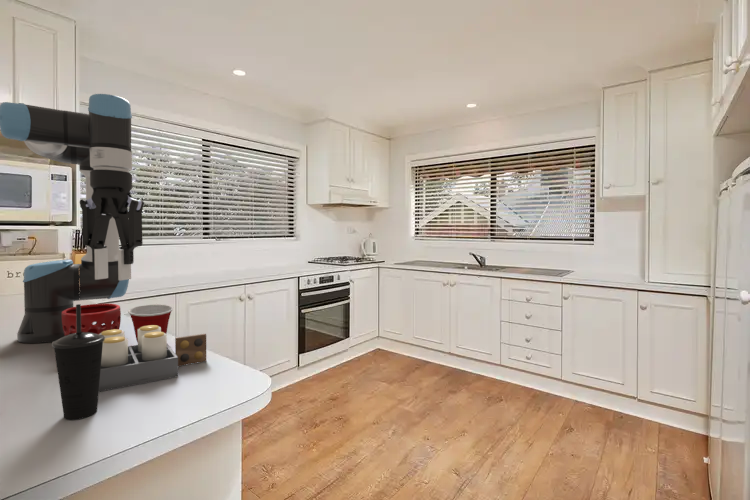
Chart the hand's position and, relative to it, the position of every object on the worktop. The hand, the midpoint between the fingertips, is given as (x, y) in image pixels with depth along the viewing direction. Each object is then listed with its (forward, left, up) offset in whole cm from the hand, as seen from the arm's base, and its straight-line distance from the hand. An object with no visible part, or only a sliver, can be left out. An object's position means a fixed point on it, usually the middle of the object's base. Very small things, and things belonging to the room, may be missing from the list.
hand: (113, 278), depth 86 cm
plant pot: (-30, -3, -23) cm, 38 cm away
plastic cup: (-21, +10, -23) cm, 33 cm away
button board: (-4, +4, -23) cm, 23 cm away
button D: (0, +8, -19) cm, 20 cm away
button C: (0, 0, -19) cm, 19 cm away
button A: (-8, 0, -19) cm, 20 cm away
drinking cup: (+14, -6, -23) cm, 28 cm away
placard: (-4, +16, -23) cm, 28 cm away
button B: (-8, +8, -19) cm, 22 cm away
